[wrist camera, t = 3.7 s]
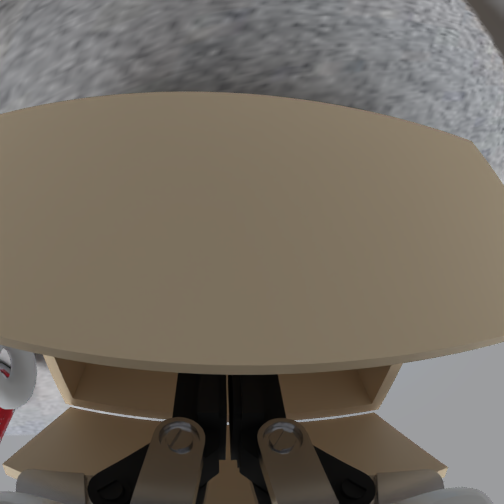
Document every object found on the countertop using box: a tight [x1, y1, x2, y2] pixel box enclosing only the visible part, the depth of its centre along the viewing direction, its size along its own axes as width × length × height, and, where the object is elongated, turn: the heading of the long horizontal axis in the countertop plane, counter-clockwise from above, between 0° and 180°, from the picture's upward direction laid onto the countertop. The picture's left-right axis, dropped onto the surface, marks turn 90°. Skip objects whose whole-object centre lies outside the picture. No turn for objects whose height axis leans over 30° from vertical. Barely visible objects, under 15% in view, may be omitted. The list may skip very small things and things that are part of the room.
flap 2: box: [2, 407, 448, 504], centre depth 12 cm, size 8×19×1 cm
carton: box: [43, 355, 403, 422], centre depth 18 cm, size 16×20×12 cm
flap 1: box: [0, 92, 504, 375], centre depth 7 cm, size 8×19×1 cm
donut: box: [0, 345, 37, 409], centre depth 22 cm, size 10×3×10 cm, turn 6°
